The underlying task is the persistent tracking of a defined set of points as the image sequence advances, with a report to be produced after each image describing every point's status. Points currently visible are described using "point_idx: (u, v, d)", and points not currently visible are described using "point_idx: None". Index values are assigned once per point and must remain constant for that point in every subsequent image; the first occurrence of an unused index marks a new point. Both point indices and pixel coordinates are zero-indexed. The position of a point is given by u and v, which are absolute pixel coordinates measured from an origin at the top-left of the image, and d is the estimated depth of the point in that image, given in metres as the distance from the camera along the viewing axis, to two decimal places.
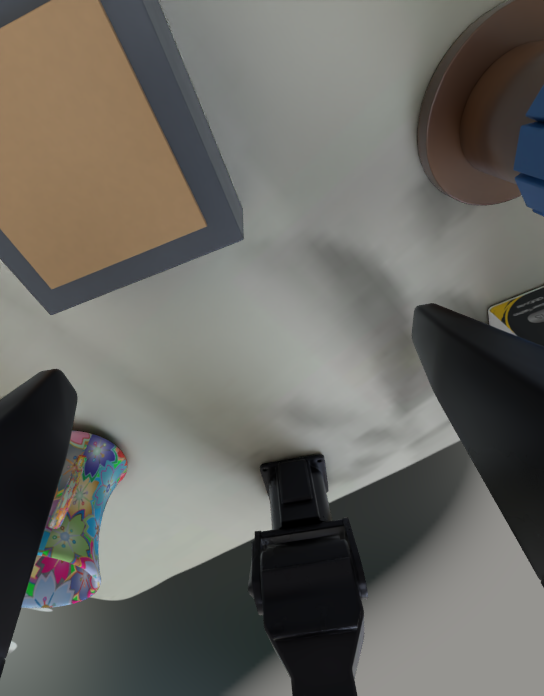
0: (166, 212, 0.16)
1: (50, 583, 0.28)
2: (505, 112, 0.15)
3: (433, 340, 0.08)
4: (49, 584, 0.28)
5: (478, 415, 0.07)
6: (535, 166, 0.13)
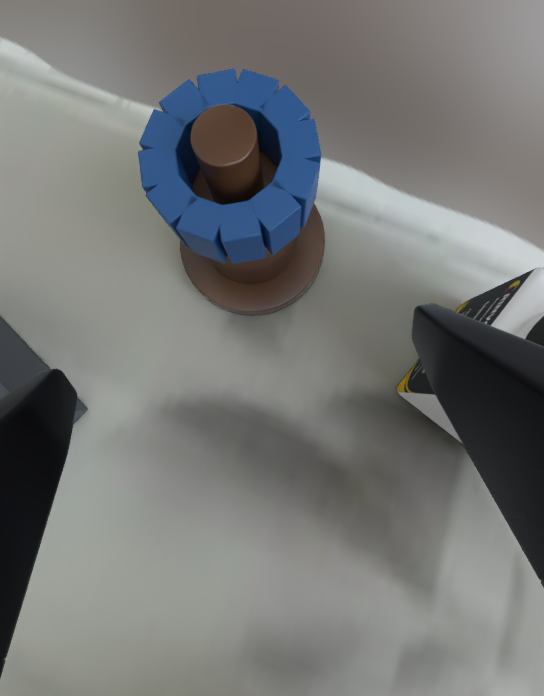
0: None
1: None
2: None
3: (433, 340, 0.08)
4: None
5: (478, 415, 0.07)
6: None
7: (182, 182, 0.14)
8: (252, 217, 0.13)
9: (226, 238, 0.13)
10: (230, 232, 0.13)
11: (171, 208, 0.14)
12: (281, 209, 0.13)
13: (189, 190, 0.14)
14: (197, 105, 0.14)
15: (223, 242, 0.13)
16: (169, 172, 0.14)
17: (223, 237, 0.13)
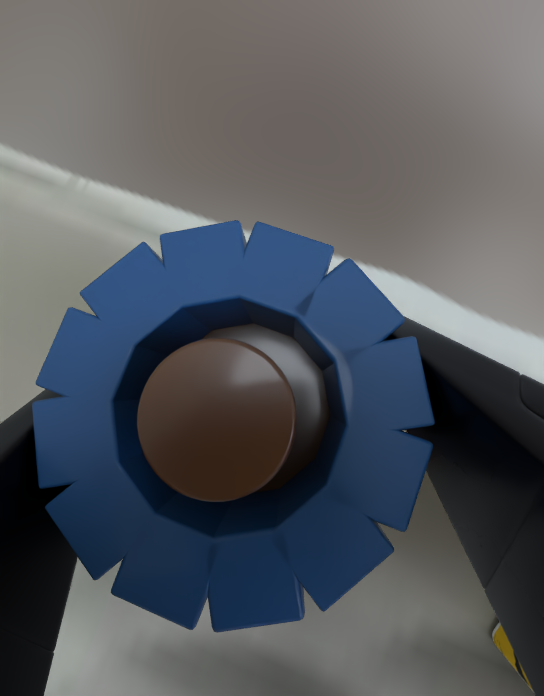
0: None
1: None
2: None
3: None
4: None
5: None
6: None
7: (125, 482, 0.06)
8: (283, 575, 0.06)
9: (224, 626, 0.06)
10: (233, 612, 0.06)
11: (100, 544, 0.06)
12: (349, 557, 0.06)
13: (141, 499, 0.06)
14: (161, 302, 0.06)
15: (217, 630, 0.06)
16: (97, 455, 0.06)
17: (217, 624, 0.06)
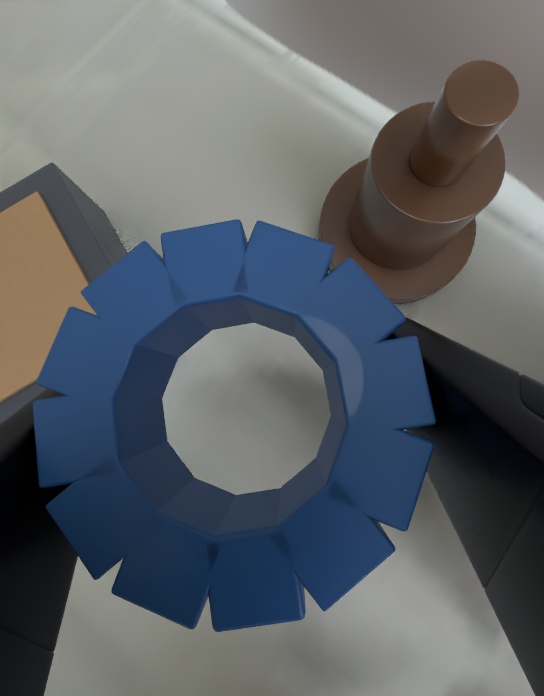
0: None
1: None
2: (361, 198, 0.17)
3: None
4: None
5: None
6: None
7: (126, 481, 0.06)
8: (284, 575, 0.06)
9: (224, 625, 0.06)
10: (234, 611, 0.06)
11: (101, 543, 0.06)
12: (350, 557, 0.06)
13: (141, 499, 0.06)
14: (161, 300, 0.06)
15: (218, 630, 0.06)
16: (98, 454, 0.06)
17: (217, 623, 0.06)
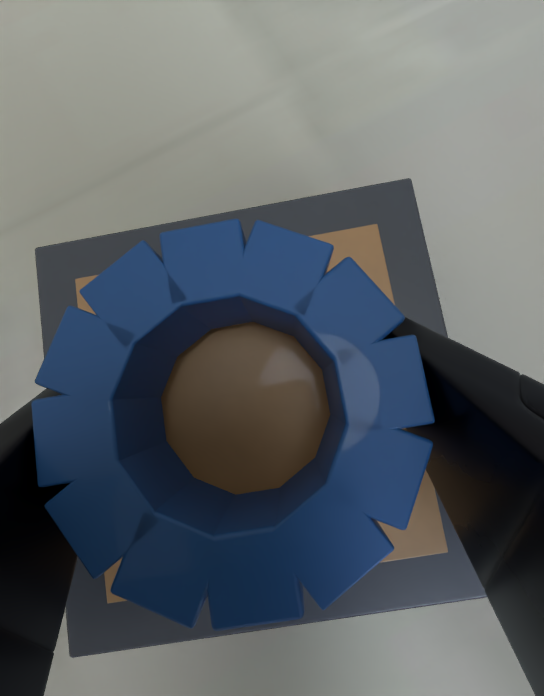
0: None
1: None
2: None
3: None
4: None
5: None
6: None
7: (125, 480, 0.06)
8: (283, 574, 0.06)
9: (223, 625, 0.06)
10: (232, 611, 0.06)
11: (99, 542, 0.06)
12: (349, 556, 0.06)
13: (140, 498, 0.06)
14: (160, 300, 0.06)
15: (216, 629, 0.06)
16: (97, 454, 0.06)
17: (216, 623, 0.06)
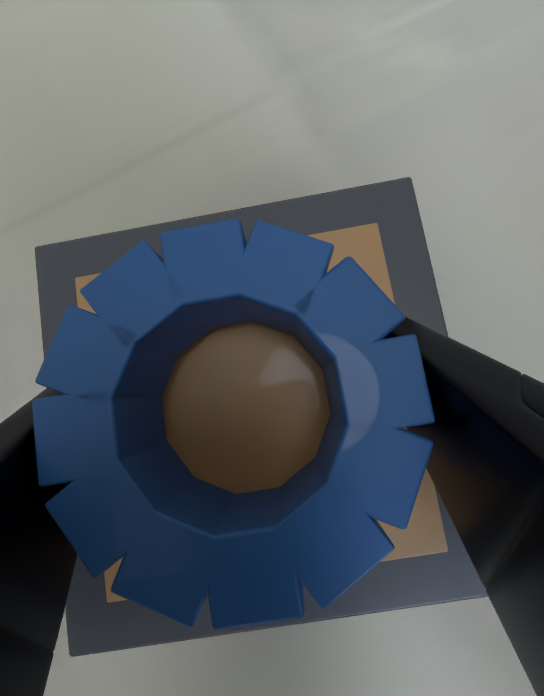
0: None
1: None
2: None
3: None
4: None
5: None
6: None
7: (125, 479, 0.06)
8: (283, 573, 0.06)
9: (224, 624, 0.06)
10: (233, 610, 0.06)
11: (100, 542, 0.06)
12: (350, 555, 0.06)
13: (141, 497, 0.06)
14: (161, 299, 0.06)
15: (217, 628, 0.06)
16: (97, 453, 0.06)
17: (217, 622, 0.06)
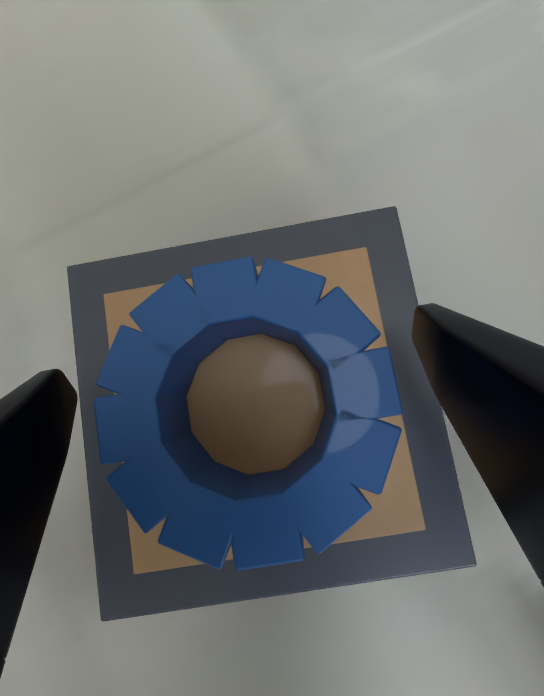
0: (369, 494, 0.10)
1: None
2: None
3: (433, 340, 0.08)
4: None
5: (478, 415, 0.07)
6: None
7: (167, 459, 0.08)
8: (288, 527, 0.08)
9: (244, 566, 0.08)
10: (250, 555, 0.08)
11: (149, 506, 0.08)
12: (338, 514, 0.08)
13: (179, 472, 0.08)
14: (192, 320, 0.08)
15: (238, 570, 0.08)
16: (145, 439, 0.08)
17: (238, 564, 0.08)
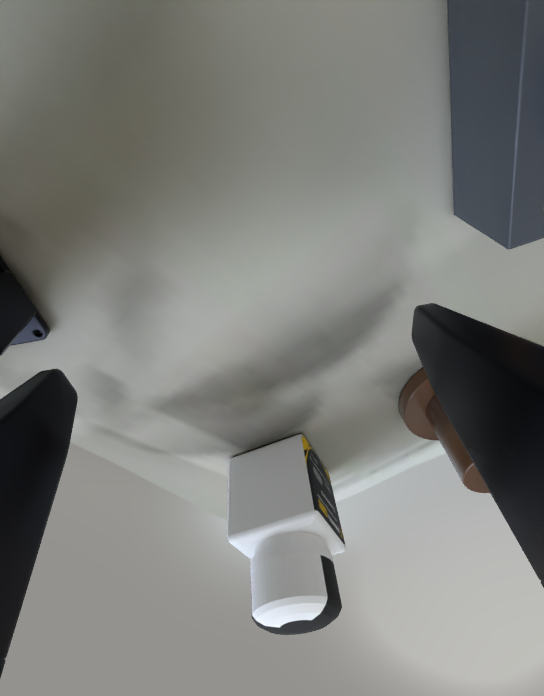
0: None
1: None
2: None
3: (433, 340, 0.08)
4: None
5: (478, 415, 0.07)
6: None
7: None
8: None
9: None
10: None
11: None
12: None
13: None
14: None
15: None
16: None
17: None
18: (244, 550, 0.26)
